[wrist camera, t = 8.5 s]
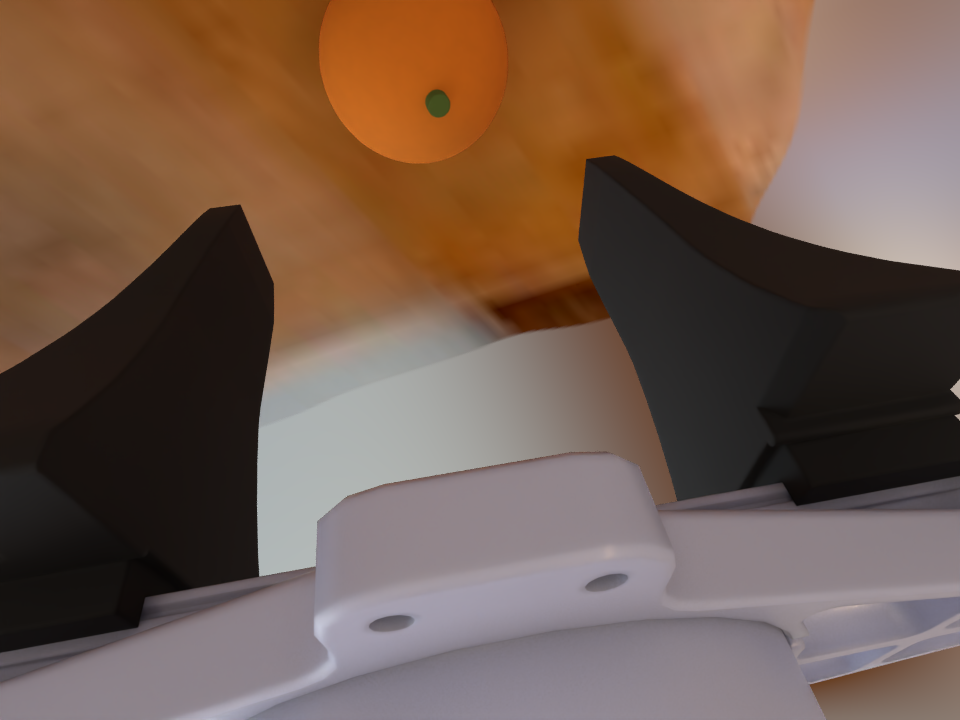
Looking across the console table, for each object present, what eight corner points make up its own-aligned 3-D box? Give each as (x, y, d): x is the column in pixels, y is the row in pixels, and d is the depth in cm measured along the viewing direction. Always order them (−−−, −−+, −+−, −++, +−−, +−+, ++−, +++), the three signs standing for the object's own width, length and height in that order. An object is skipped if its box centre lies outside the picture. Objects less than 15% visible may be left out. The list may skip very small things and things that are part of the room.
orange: (303, 103, 18) (319, 188, 15) (320, -97, 15) (346, -53, 11) (454, 131, 21) (501, 212, 17) (499, -38, 17) (570, 16, 13)
